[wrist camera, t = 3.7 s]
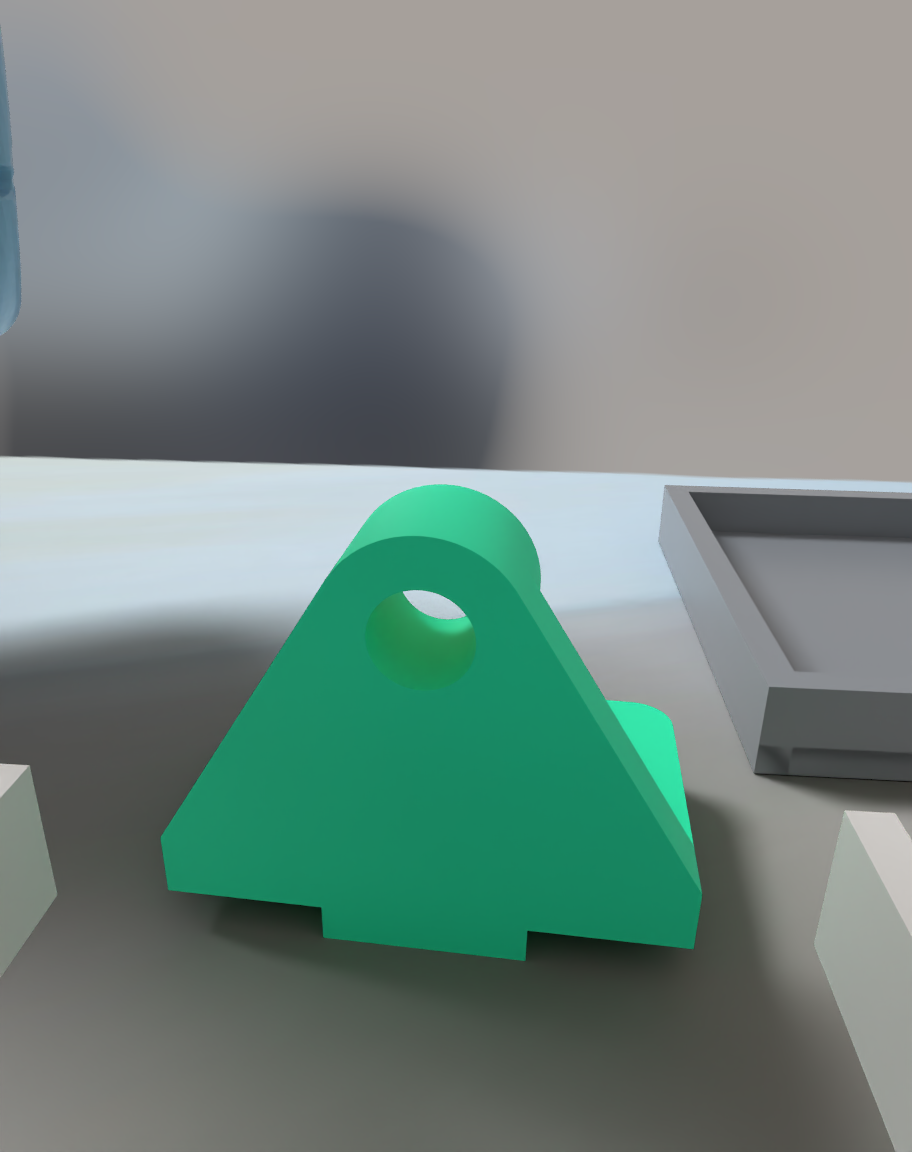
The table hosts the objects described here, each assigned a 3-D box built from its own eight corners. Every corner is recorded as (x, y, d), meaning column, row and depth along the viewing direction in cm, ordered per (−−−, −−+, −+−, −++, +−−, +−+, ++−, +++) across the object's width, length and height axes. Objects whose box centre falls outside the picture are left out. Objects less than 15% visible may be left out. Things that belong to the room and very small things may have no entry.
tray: (753, 773, 26) (769, 687, 25) (658, 541, 45) (664, 485, 43) (1312, 801, 25) (1356, 713, 24) (979, 552, 44) (994, 495, 42)
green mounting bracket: (659, 779, 26) (702, 447, 22) (687, 986, 19) (756, 555, 15) (277, 745, 28) (251, 427, 24) (173, 925, 21) (112, 517, 17)
